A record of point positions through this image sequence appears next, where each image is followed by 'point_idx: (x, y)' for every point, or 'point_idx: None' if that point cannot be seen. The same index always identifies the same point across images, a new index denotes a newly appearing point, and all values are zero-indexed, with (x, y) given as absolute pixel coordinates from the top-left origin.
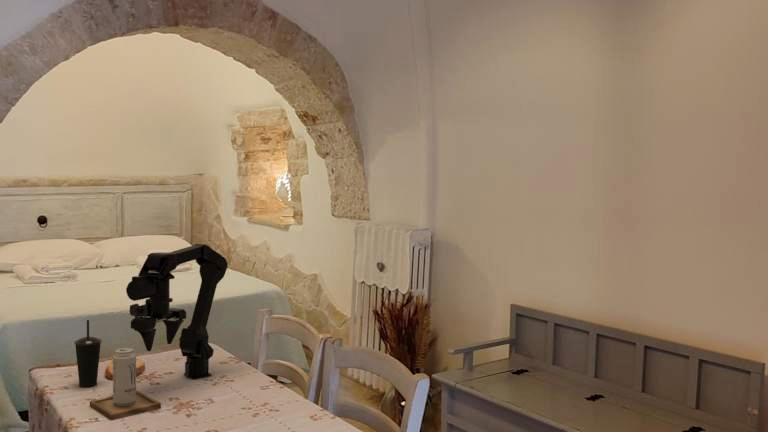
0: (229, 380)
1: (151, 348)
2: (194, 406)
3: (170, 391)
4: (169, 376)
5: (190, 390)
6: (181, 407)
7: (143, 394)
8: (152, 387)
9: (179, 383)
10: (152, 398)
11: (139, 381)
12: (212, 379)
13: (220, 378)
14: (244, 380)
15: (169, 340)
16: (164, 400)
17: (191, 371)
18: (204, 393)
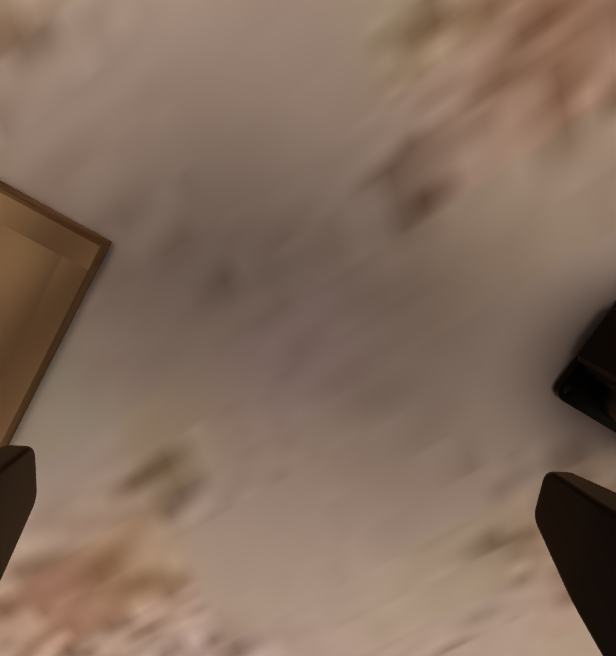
0: None
1: (10, 545)
2: (94, 644)
3: (280, 388)
4: (593, 189)
5: (339, 486)
6: (47, 598)
7: (42, 335)
8: (318, 223)
9: (453, 348)
10: (1, 440)
11: (425, 27)
12: None
13: None
14: (589, 642)
15: (569, 545)
16: (108, 452)
17: (603, 382)
18: (314, 580)
